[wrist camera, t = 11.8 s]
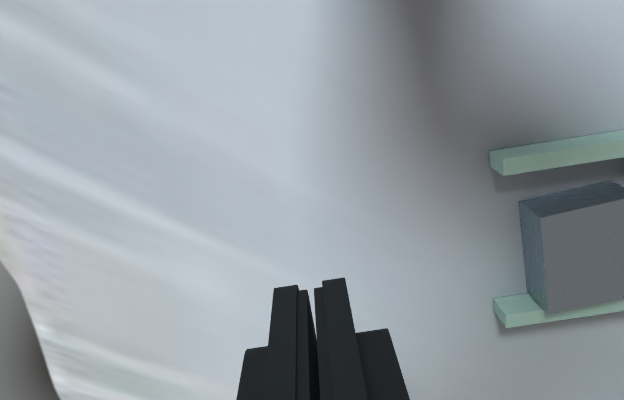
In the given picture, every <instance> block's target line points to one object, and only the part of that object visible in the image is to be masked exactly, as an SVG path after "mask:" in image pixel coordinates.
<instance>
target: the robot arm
mask: <svg viewBox="0 0 624 400" xmlns="http://www.w3.org/2000/svg"><path fill="white" fill-rule="evenodd" d="M322 285H323V287H320V288H314V297H315V315H316V332H317V339H316V334H315V328H314V323H313V317H312V312H311V307H310V301H309V296H308V291H307V290H300V291H299V288H298V285H292V286H286V287H279V288H274V293H273V303H272V313H271V323H270V332H269V342H268V346H265V347H259V348H252V349H247V350H246V351H245V355H244V360H243V366H242V372H241V377H240V383H239V389H238V395H237V400H410V399H409V396H408V393H407V389H406V386H405V383H404V379H403V376H402V373H401V370H400V366H399V363H398V360H397V356H396V353H395V350H394V347H393V343H392V340H391V337H390V334H389V331H388V329H380V330H373V331H366V332H360V333H355V329H354V324H353V318H352V313H351V308H350V302H349V297H348V292H347V287H346V281H345V278H338V279H332V280H325V281H322Z"/></svg>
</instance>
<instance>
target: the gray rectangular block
mask: <svg viewBox="0 0 624 400" xmlns="http://www.w3.org/2000/svg"><path fill="white" fill-rule="evenodd" d="M519 211H520V222H521V232H522V243H523V253H524V263H525V274H526V284H527V292H528V293H529V294H530V295H531V296H532V298H533V299H534V300H535V301H536V302H537V303H538V304H539V305H540V306H541V307H542V309H543V310H544V311H545V312H546V313H547V314H548V315H552V314H557V313H561V312H566V311H571V310H575V309H580V308H584V307H589V306H594V305H598V304H603V303H607V302H612V301H617V300H621V299H624V187H622V186H620V185H618V184H616V183H614V182H611V181H606V182H601V183H597V184H593V185H588V186H584V187H580V188H575V189H571V190H567V191H562V192H558V193H554V194H549V195H545V196H541V197H536V198H532V199H528V200H523V201H519Z"/></svg>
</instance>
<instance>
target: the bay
mask: <svg viewBox="0 0 624 400" xmlns="http://www.w3.org/2000/svg"><path fill="white" fill-rule="evenodd" d="M622 157H624V130H619V131H613V132H606V133H600V134H593V135H587V136H581V137H574V138H568V139H562V140H555V141H549V142H543V143H536V144H530V145H524V146H517V147H511V148H505V149H498V150H492V151H489V160H490V167H491V168H492V169H494V170H495V171H497V172H498V173H500V174H501V175H503V176H507V175H513V174H519V173H526V172H532V171H539V170H545V169H552V168H558V167H564V166H571V165H577V164H584V163H590V162H596V161H603V160H609V159H616V158H622ZM493 304H494V312H495V313H496V315H497V316H498V318H499V319H500V320H501V322H502V323H503V325H504V326H505V327H506V328H511V327H518V326H525V325H532V324H539V323H545V322H552V321H559V320H566V319H573V318H579V317H586V316H593V315H600V314H607V313H614V312H620V311H624V299H621V300H617V301H612V302H607V303H603V304H598V305H594V306H589V307H584V308H580V309H575V310H571V311H566V312H561V313H557V314H552V315H548V314H547V313H546V312H545V311H544V310H543V309H542V307H541V306H540V305H539V304H538V303H537V302H536V301H535V300H534V299H533V298H532V296H531V295H530V294H529V293H526V294H519V295H512V296H506V297H499V298H493Z"/></svg>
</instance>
